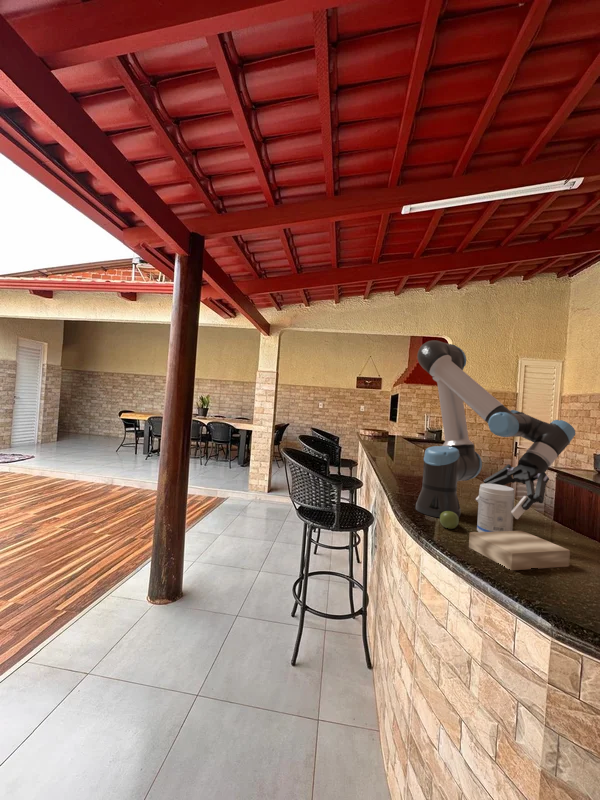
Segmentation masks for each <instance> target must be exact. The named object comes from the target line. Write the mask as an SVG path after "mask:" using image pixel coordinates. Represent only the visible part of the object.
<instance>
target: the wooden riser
mask: <svg viewBox="0 0 600 800" xmlns="http://www.w3.org/2000/svg"><path fill="white" fill-rule="evenodd" d="M468 539H469V540H468V548H469V549H471V550H473V551H475V552H477V553H478V554H481V555H482V556H484V557H486V558H488V559H489V560H491V561H493V562H495V563H497V564H498V563H499V565H500V564H501V565H500V566H502V565H503V566H502V567H504V566H505V568H506V569H507V570H509V569H510V571H519V570H520V571H521V570H532V569H531V568H538V569H549V568H551V569H552V568H565V567H570V556H571V550H570V549H568V548H565V547H563V546H561V545H558V544H555V543H553V542H551V541H548V540H546V539H543V538H541V537H539V536H536V535H534V534H531V533H529V532H526V531H524V530H512V531H498V532H478V531H472V532H469V537H468Z"/></svg>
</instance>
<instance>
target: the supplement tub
mask: <svg viewBox="0 0 600 800" xmlns="http://www.w3.org/2000/svg"><path fill="white" fill-rule="evenodd" d="M478 496H479V503H478V505H477V506H478V507H477V523H476V524H477V525H476V532H498V531H513V524H514V516H513V515H512V513H511V511H512V510H513V509H514V507H515V489H514V488H513V487H510V486H507V485H498V484H487V483H480V485H479V490H478Z"/></svg>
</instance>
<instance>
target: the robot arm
mask: <svg viewBox="0 0 600 800" xmlns="http://www.w3.org/2000/svg"><path fill="white" fill-rule="evenodd" d="M416 356H417V357H416V358H417V361H418V364H419V365H420V366H421V368H422V369H423V370H424V371H425V372H427V373H428V374H429V375H430V376H431V377H432V380H433V381H434V382H436V384H437V389H438V390H437V392H438V399H439V405H440V406H439V407H440V412H441V419H442V420H441V421H442V427H443V428H442V429H443V435H444V442H443V444H442V445H439V446H438V445H434V446H429V447H427V448H426V449H425V451H424V455H423V470H422V471H423V472H422V483H421V484H422V485H421V486H422V487H421V490H420V493H419V495H418V498H417V500H416V503H415V510H416V511H417V512H419V513H421V514H424V515H426V516H430V517H434V518H440V515H441V513H442V512H444V511H451V512H454V513H456V514H457V516H458V518H460V517H461V512H462V509H461V506H460V501H459V499H458V498H459V497H458V495H457V489H458V482H461V481H463V482H464V481H470V480H472V479H474V478H476V477H477V476H478V475H479V474H480V473H481V470H482V468H483V467H482V466H483V462H482V457H481V456H480V454H479V453H477V452H476V450H475V445H474V442H472V440H470V437H469V431H468V424H467V418H466V411H465V404H466V405H467V406H468V407H469V408H470V409H471V410H472V411H474V413H476V415H478V416H479V417H480V418H481V419H482V420H484V422H486V423H487V425H488V426H487V427H488V429H489V431H490V432H491V433H492V434H493V435H495V436H498V437H502V438H511V437H512V438H513V437H515V438H516V437H517V438H519V437H520V438H523V439H525V440H528V441H530V442H532V444H531V445H530V447H529V448H528V449H526V451H525V453H523V455H522V456H521V457H520V458H519V460H518V461H517V462H518V463H517V465H516V466H515V467H514V466H511V464H509V463H508V464H506V465H505V466H504V467H503V468H502V469H500V470H499V471H497V472H495V473H493V474H491V475H490V476H489V477H487V478H485V479H483V484H485V483H487V484H498V485H504V486H507V485H508V484H510V483H513V484H514V483H520V484H522V485H525V487H526V493H527V494H526V495H523V497H522V498H521V499H520V500H519V502H518V503H517V504H516V505H514V509H513V510H512V511H511V513H512V515H513V518H515V520H519V519H520V517H521V516H522V515H523V514H524V513H525V511H528V510H529V509H530V508H531V506H533V504H536V503H539V504H543V503H544V501H545V500H544V499H545V495H546V494H545V493H546V486H547V483H548V481H549V480H550V477H549V476H548V475H547V473H546V472H547V471H548V469H549V467H551V466H552V465H553V463H554V462H555V461H556V459H558V457H559V456H560V455H561V453H562V452H563V451H564V450H565V449H566V448H567V447H568V446H569V445H570V443H571V442H572V440H573V438H574V437H575V436H576V434H577V433H576V430H575V428H574V427H573V425H572V424H571V423H569V422H567V421H566V420H562V419H560V420H559V419H554V420H552V421H551V422H550V423H549V422H546V421H542V420H541V419H538V418H535V417H534V416H530V415H528V414H526V413H525V412H523V411H519V410H517V409H509V408H507V407H506V406H505V405H504V404H503V403H501V401H499V400H498V399H497V398H496V397H495V396H493V395H492V394H491V393H490V392H488V391H487V390H486V388H484V386H483V387H482V385H480V384H479V383H478V382H477V381H475V380H474V379H473V378H472V377H471V376H470V375H468V373H467V372H465V371H464V368H465V367H466V364H467V355H466V353H465V351H463V349H461V348H460V347H459V346H458V345H455V344H451V343H447V342H443V341H440V340H428V341H426V342H425V343H423V344H422V345H421V346H420V347H419V348H418V351H417V354H416ZM464 403H465V404H464ZM536 480H537V481H536ZM535 481H536V486H535ZM475 500H476V503H478V504H479V495H478V496H476V498H475Z"/></svg>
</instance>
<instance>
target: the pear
mask: <svg viewBox="0 0 600 800" xmlns="http://www.w3.org/2000/svg"><path fill="white" fill-rule="evenodd" d="M459 520H460V517H458V516H457V514H456V513H454V512H451V511H444V512H442V513H441V515H440V517H439V522H440V525H442V526H443V527H444V528H445V529H447V528H448V530H452V529H453V530H454V529H455V528H457V527H458V525H459V522H460V521H459Z"/></svg>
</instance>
